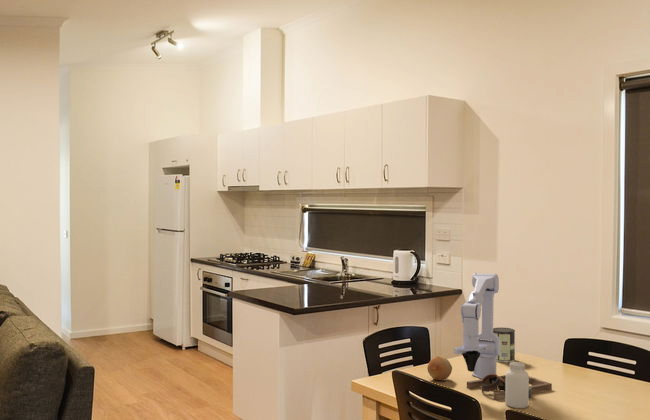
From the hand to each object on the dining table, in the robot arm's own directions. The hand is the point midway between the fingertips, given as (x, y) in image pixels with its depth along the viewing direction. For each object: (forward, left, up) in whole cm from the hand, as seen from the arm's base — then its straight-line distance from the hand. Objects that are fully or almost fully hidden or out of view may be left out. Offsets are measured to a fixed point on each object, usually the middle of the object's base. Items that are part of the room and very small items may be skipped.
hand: (470, 370), depth 231 cm
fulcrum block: (+10, +18, -9) cm, 23 cm away
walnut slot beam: (0, +18, -9) cm, 20 cm away
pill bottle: (+16, +8, -10) cm, 20 cm away
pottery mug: (+1, +11, -10) cm, 14 cm away
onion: (-22, +2, -10) cm, 24 cm away
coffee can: (-35, +48, -10) cm, 60 cm away
